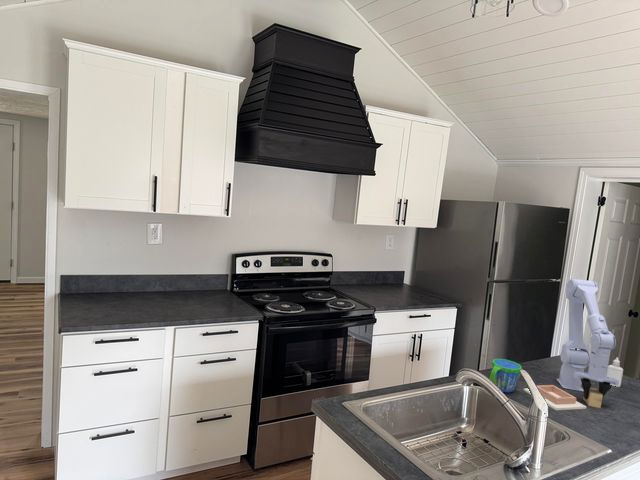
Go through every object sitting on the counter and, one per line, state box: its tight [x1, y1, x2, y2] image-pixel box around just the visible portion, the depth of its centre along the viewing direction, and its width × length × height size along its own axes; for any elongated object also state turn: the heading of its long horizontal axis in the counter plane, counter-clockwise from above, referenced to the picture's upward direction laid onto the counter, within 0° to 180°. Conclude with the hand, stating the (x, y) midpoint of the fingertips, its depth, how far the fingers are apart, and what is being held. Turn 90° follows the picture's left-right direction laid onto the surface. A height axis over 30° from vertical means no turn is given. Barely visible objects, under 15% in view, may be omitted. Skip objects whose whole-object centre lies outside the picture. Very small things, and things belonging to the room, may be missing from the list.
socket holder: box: [523, 384, 587, 411], centre depth 172 cm, size 16×14×3 cm
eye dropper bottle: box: [606, 357, 624, 388], centre depth 194 cm, size 4×6×12 cm
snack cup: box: [488, 358, 523, 393], centre depth 176 cm, size 16×10×10 cm
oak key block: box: [582, 387, 604, 409], centre depth 172 cm, size 6×4×5 cm, turn 167°
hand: (592, 399), depth 172 cm, fingers closed on oak key block, 4 cm apart
